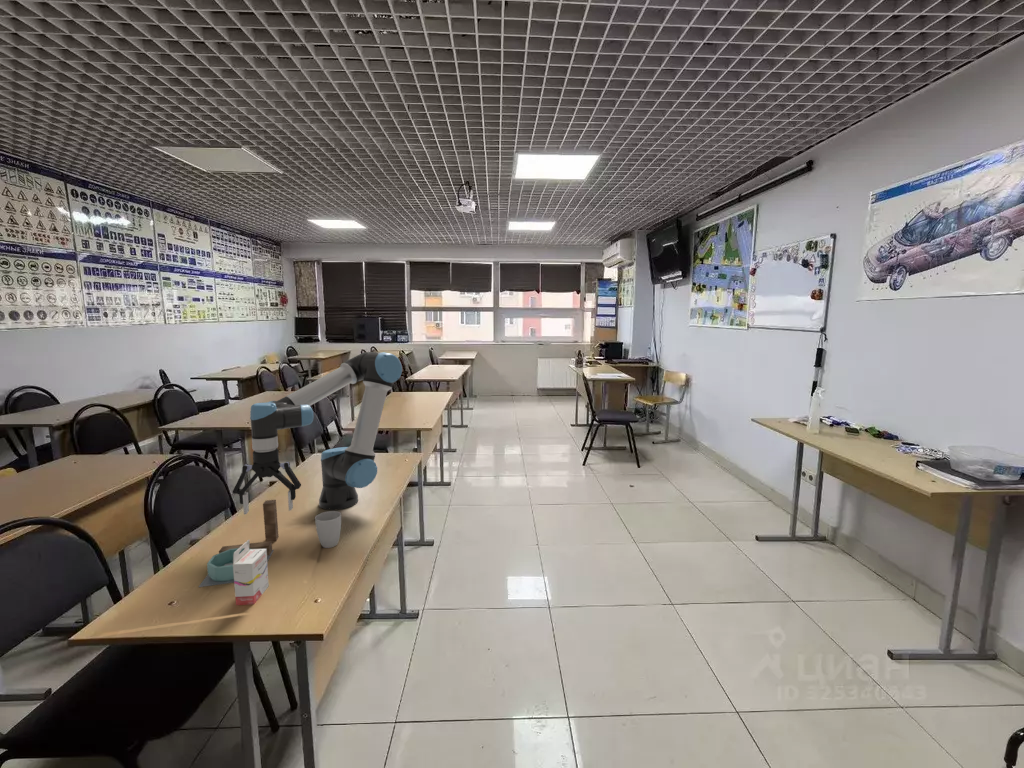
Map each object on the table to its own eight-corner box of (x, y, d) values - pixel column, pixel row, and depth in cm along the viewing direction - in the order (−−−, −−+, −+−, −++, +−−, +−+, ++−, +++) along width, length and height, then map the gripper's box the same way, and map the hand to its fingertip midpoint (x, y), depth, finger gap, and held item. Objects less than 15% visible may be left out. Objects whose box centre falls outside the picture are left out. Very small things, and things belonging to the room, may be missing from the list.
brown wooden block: (278, 538, 154) (275, 499, 153) (276, 542, 151) (273, 503, 150) (268, 539, 154) (265, 500, 152) (265, 543, 150) (262, 504, 149)
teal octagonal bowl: (259, 558, 139) (258, 545, 139) (248, 578, 128) (247, 564, 128) (218, 563, 137) (217, 550, 136) (203, 584, 126) (202, 569, 125)
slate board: (274, 551, 145) (274, 549, 145) (258, 581, 128) (257, 579, 128) (222, 557, 142) (222, 555, 141) (198, 589, 124) (198, 587, 124)
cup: (347, 540, 152) (346, 512, 151) (331, 551, 145) (329, 522, 144) (328, 537, 155) (327, 509, 154) (311, 548, 147) (309, 519, 146)
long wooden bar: (272, 550, 145) (271, 541, 144) (269, 555, 142) (268, 545, 141) (223, 556, 141) (222, 546, 141) (219, 561, 138) (218, 551, 138)
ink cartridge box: (255, 606, 116) (251, 553, 115) (235, 607, 116) (230, 553, 114) (270, 587, 125) (266, 537, 123) (251, 588, 125) (247, 538, 123)
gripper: (308, 444, 155) (310, 503, 157) (227, 448, 149) (231, 510, 151) (304, 449, 148) (306, 511, 150) (218, 454, 142) (223, 518, 144)
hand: (268, 510), depth 151 cm, fingers open, 13 cm apart
